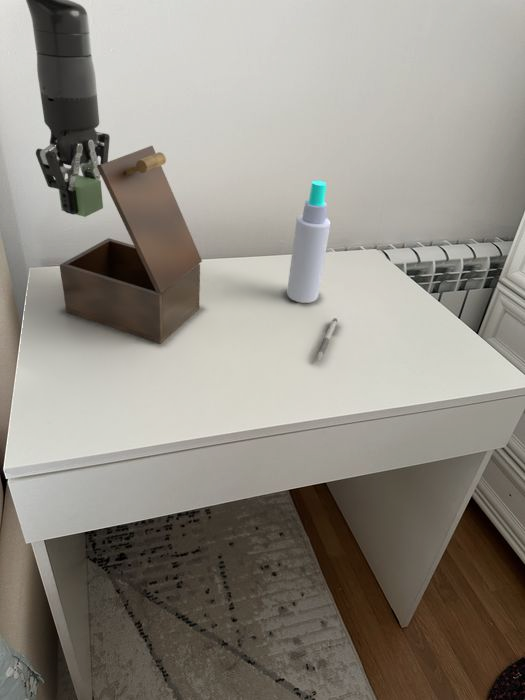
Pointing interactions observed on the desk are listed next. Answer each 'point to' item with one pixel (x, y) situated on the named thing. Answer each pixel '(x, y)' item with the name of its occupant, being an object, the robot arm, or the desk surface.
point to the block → (87, 195)
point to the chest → (126, 292)
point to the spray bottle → (309, 247)
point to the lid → (151, 215)
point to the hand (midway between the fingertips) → (82, 207)
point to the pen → (326, 339)
